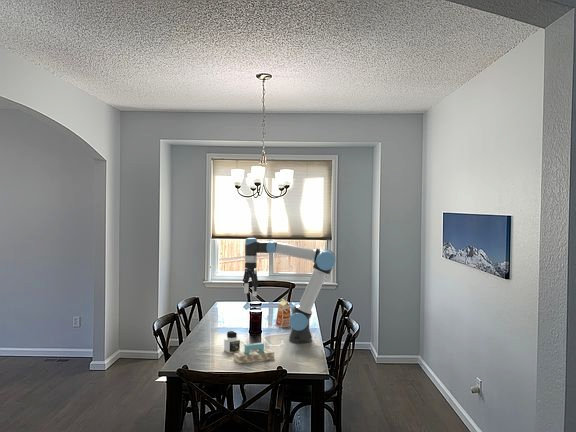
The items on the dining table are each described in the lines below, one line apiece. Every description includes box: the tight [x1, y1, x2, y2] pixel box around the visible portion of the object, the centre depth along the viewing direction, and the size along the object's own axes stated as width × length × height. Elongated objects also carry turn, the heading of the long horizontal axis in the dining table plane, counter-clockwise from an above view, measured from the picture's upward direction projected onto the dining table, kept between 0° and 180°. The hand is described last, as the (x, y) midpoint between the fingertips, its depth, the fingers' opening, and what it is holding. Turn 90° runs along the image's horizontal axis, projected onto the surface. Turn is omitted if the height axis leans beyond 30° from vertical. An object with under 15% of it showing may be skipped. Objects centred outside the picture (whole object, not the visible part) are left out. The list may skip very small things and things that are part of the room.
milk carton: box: [274, 298, 292, 328], centre depth 406 cm, size 9×9×20 cm
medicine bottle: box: [223, 330, 241, 354], centre depth 333 cm, size 7×7×12 cm
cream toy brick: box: [233, 348, 275, 364], centre depth 315 cm, size 22×8×4 cm, turn 117°
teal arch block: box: [244, 342, 265, 355], centre depth 315 cm, size 11×3×8 cm, turn 117°
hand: (250, 294), depth 351 cm, fingers open, 13 cm apart
